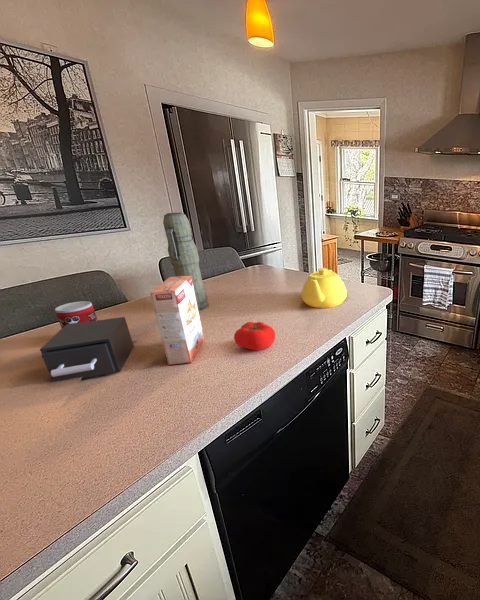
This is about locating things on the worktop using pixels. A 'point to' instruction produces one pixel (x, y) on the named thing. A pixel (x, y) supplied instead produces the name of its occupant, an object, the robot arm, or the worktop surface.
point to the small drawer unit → (96, 338)
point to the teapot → (323, 289)
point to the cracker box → (178, 319)
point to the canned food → (75, 313)
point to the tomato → (254, 336)
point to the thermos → (184, 253)
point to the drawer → (79, 361)
